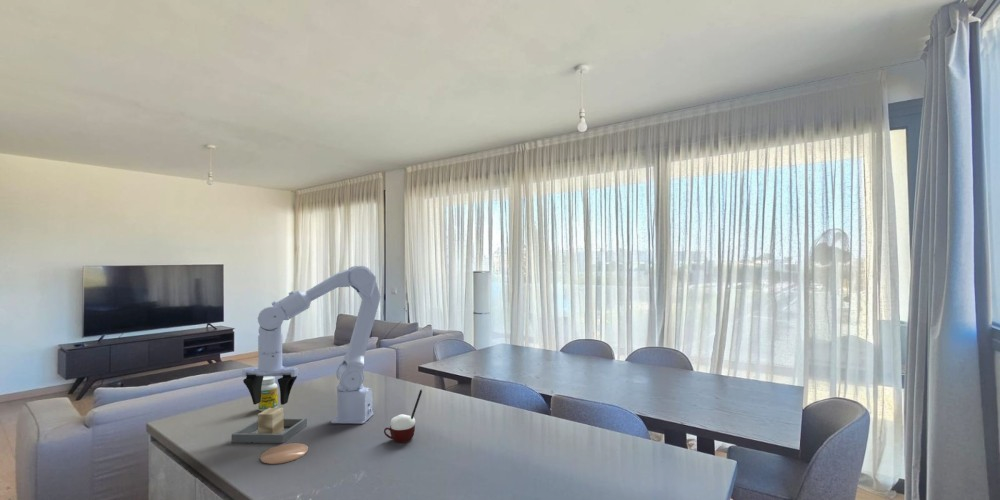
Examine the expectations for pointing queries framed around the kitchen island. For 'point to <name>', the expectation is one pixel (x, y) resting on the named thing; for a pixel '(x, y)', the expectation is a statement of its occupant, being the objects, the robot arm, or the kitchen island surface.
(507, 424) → the kitchen island surface
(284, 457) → the saucer
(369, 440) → the kitchen island surface
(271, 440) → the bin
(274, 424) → the block
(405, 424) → the cocoa
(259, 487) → the kitchen island surface
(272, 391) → the supplement bottle
